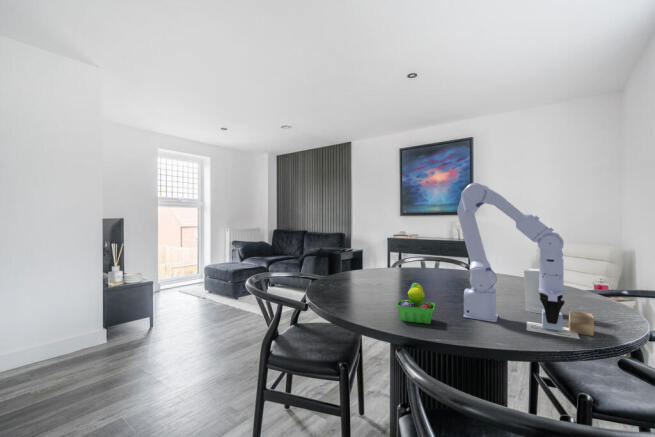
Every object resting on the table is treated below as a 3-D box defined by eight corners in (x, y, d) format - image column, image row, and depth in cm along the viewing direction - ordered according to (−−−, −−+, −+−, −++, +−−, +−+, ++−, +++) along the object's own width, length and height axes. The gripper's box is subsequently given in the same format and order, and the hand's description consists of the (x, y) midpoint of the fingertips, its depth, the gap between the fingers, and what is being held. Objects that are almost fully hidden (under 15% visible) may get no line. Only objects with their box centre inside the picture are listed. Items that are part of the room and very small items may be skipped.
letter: (526, 330, 89) (526, 330, 89) (526, 321, 96) (526, 321, 96) (580, 339, 82) (580, 338, 82) (575, 329, 90) (575, 328, 90)
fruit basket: (396, 321, 97) (396, 285, 97) (400, 313, 105) (400, 280, 105) (434, 326, 93) (434, 288, 93) (435, 317, 101) (435, 283, 101)
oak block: (570, 331, 87) (571, 314, 87) (568, 326, 91) (569, 310, 91) (593, 336, 84) (594, 318, 84) (590, 330, 89) (591, 313, 88)
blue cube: (543, 328, 88) (543, 312, 88) (542, 323, 92) (541, 308, 92) (562, 331, 86) (562, 315, 86) (560, 326, 90) (560, 311, 90)
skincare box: (559, 314, 104) (558, 270, 104) (551, 317, 101) (551, 272, 101) (531, 308, 111) (531, 267, 111) (523, 310, 108) (523, 268, 108)
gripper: (571, 279, 81) (571, 331, 81) (566, 271, 93) (566, 316, 93) (539, 276, 85) (539, 325, 85) (537, 269, 97) (538, 312, 97)
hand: (551, 320), depth 89 cm, fingers closed on blue cube, 5 cm apart
